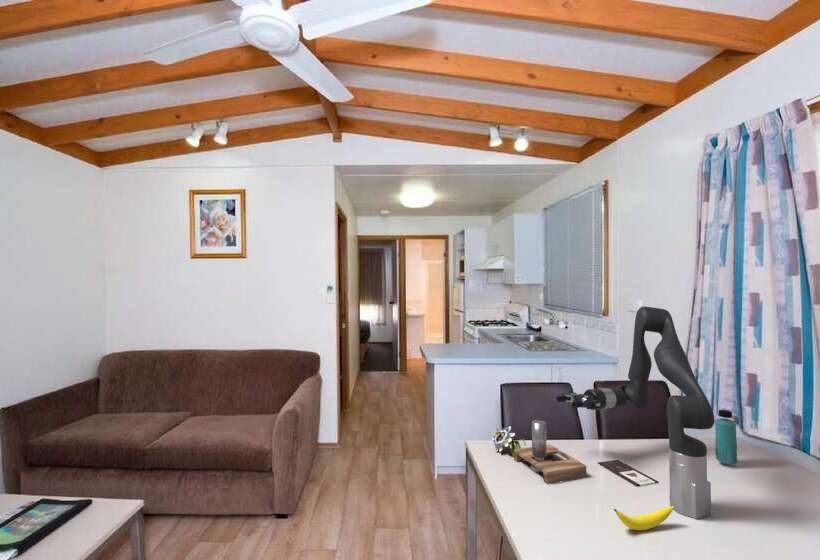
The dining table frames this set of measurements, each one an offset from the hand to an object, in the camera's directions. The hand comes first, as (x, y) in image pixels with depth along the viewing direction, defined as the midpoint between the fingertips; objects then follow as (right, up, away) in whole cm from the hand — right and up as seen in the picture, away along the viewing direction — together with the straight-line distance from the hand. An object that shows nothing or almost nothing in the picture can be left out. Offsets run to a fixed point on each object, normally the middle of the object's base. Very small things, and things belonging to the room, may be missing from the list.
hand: (564, 401), depth 151 cm
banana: (+7, -23, -39) cm, 46 cm away
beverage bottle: (+60, -24, 0) cm, 64 cm away
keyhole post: (-10, -23, -4) cm, 26 cm away
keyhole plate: (-7, -23, -2) cm, 24 cm away
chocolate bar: (+20, -24, -6) cm, 32 cm away
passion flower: (-18, -24, +13) cm, 33 cm away
